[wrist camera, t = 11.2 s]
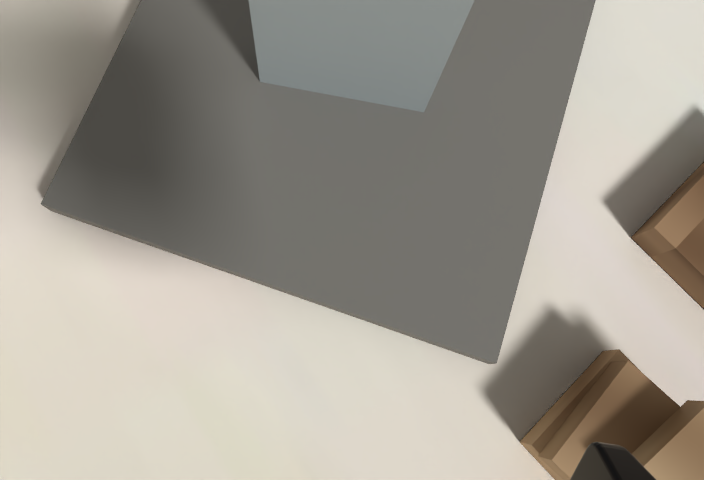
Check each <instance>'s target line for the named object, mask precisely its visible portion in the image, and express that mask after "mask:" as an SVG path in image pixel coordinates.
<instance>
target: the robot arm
mask: <svg viewBox="0 0 704 480" xmlns="http://www.w3.org/2000/svg"><path fill="white" fill-rule="evenodd" d="M570 480H656V479H655V478H654V477H653V476H652V475H651V474H650V472H649V471H648V470H647V469H646V468H645V467H644V466H643V465H642V464H641V463H640V462H639V461H638V460H637V459H636V458H635V457H634V456H633V455H632V454H631V453H630V452H629V451H628V450H627V449H626V448H624V447H622V446H620V445H614V444H608V443H602V442H593V443H591V444H590V445H589V446H588V447H587V449H586V450H585V452H584V454H583V456H582V458H581V460H580V462H579V463H578V465H577V467H576V469H575V471H574V473H573V475H572V477H571V479H570Z"/></svg>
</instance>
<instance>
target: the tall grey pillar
mask: <svg viewBox="0 0 704 480" xmlns="http://www.w3.org/2000/svg"><path fill="white" fill-rule="evenodd" d="M473 3H474V0H249V7H250V15H251V22H252V29H253V36H254V43H255V50H256V57H257V64H258V72H259V79H260V82H263V83H269V84H274V85H279V86H285V87H290V88H296V89H301V90H306V91H312V92H317V93H323V94H328V95H333V96H339V97H344V98H349V99H355V100H360V101H366V102H371V103H376V104H382V105H387V106H393V107H398V108H403V109H409V110H414V111H419V112H424V111H425V109H426V107H427V105H428V102H429V100H430V98H431V96H432V93H433V91H434V89H435V87H436V85H437V82H438V80H439V78H440V76H441V74H442V71H443V69H444V67H445V65H446V62H447V60H448V58H449V56H450V54H451V51H452V49H453V47H454V45H455V42H456V40H457V38H458V36H459V34H460V31H461V29H462V27H463V25H464V23H465V20H466V18H467V16H468V14H469V11H470V9H471V7H472V5H473Z"/></svg>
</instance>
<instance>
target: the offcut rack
mask: <svg viewBox="0 0 704 480" xmlns="http://www.w3.org/2000/svg"><path fill="white" fill-rule="evenodd" d="M631 238H632V239H633V240H634V241H635V242H636V243H637V244H638V245H639V246H640V247H641V248H642V249H643V250H644V251H645V252H646V253H647V254H648V255H649V256H650V257H651V258H652V259H653V260H654V261H655V262H656V263H658V264H659V265H660V266H661V267H662V268H663V269H664V270H665V271H666V272H667V273H668V274H669V275H670V276H671V277H672V278H673V279H674V280H675V281H676V282H677V283H678V284H679V285H680V286H681V287H682V288H683V289H684V290H685V291H686V292H687V293H688V294H689V295H690V296H691V297H692V298H693V299H694V300H695V301H696V302H697V303H698V304H699V305H700V306H701V307H702V308H703V309H704V162H703V163H702V164H701V165H700V166H699V167H698V168H697V169H696V171H695V172H694V173H693V174H692V175H691V176H690V177H689V178H688V179H687V180H686V181H685V182H684V183H683V184H682V185H681V186H680V187H679V188H678V189H677V190H676V191H675V192H674V193H673V194H672V195H671V197H670V198H669V199H668V200H667V201H666V202H665V203H664V204H663V205H662V206H661V207H660V208H659V209H658V210H657V211H656V212H655V213H654V214H653V215H652V216H651V217H650V218H649V219H648V220H647V221H646V223H645V224H644V225H643V226H642V227H641V228H640V229H639V230H638V231H637V232H636V233H635V234H634V235H633V236H632V237H631ZM593 442H602V443H608V444H614V445H620V446H622V447H624V448H626V449H627V450H628V451H629V452H630V453H631V454H632V455H633V456H634V457H635V458H636V459H637V460H638V461H639V462H640V463H641V464H642V465H643V466H644V467H645V468H646V469H647V470H648V471H649V472H650V474H651V475H652V476H653V477H654V478H655V479H656V480H704V401H689V400H687V401H686V402H685V403H684V404H683V405H682V406H681V407H680V406H679V405H678V404H676V403H675V402H674V401H673V400H672V399H671V398H670V397H669V396H667V395H666V394H665V393H664V392H663V391H662V390H661V389H660V388H659V387H657V386H656V385H655V384H654V383H653V382H652V381H651V380H650V379H648V378H647V377H646V376H645V375H644V374H643V373H642V372H641V371H640V370H639V369H638V368H637V367H636V366H635V365H634V364H633V363H632V362H631V361H630V360H629V359H628V358H627V357H626V356H625V355H624V354H623V353H622V352H621V351H620V350H609V351H603V352H602V353H601V354H600V355H599V356H598V357H597V358H596V359H595V361H594V362H593V363H592V364H591V365H590V366H589V367H588V368H587V369H586V370H585V371H584V372H583V374H582V375H581V376H580V377H579V378H578V379H577V380H576V381H575V382H574V383H573V384H572V386H571V387H570V388H569V389H568V390H567V391H566V392H565V393H564V394H563V395H562V396H561V397H560V399H559V400H558V401H557V402H556V403H555V404H554V405H553V406H552V407H551V408H550V409H549V411H548V412H547V413H546V414H545V415H544V416H543V417H542V418H541V419H540V420H539V421H538V422H537V424H536V425H535V426H534V427H533V428H532V429H531V430H530V431H529V432H528V433H527V434H526V436H525V437H524V438H523V439H522V440H521V441H520V443H521V444H522V445H523V446H524V447H525V448H526V449H527V450H528V451H529V452H530V454H531V455H532V456H533V457H534V458H535V459H536V460H537V461H538V462H539V463H540V464H541V465H542V466H543V467H544V468H545V469H546V471H547V472H548V473H549V474H550V475H551V476H552V477H553V478H554V479H555V480H570V479H571V477H572V475H573V473H574V471H575V469H576V467H577V465H578V463H579V462H580V460H581V458H582V456H583V454H584V452H585V450H586V449H587V447H588V446H589V445H590V444H591V443H593Z"/></svg>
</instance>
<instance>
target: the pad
mask: <svg viewBox="0 0 704 480" xmlns="http://www.w3.org/2000/svg"><path fill="white" fill-rule="evenodd" d="M594 4H595V0H474V3H473V5H472V7H471V9H470V11H469V14H468V16H467V18H466V20H465V23H464V25H463V27H462V29H461V31H460V34H459V36H458V38H457V40H456V42H455V45H454V47H453V49H452V51H451V54H450V56H449V58H448V60H447V62H446V65H445V67H444V69H443V71H442V74H441V76H440V78H439V80H438V82H437V85H436V87H435V89H434V91H433V93H432V96H431V98H430V100H429V102H428V105H427V107H426V109H425V111H424V112H419V111H414V110H409V109H403V108H398V107H393V106H387V105H382V104H376V103H371V102H366V101H360V100H355V99H349V98H344V97H339V96H333V95H328V94H323V93H317V92H312V91H306V90H301V89H296V88H290V87H285V86H279V85H274V84H269V83H263V82H260V79H259V72H258V64H257V57H256V50H255V43H254V36H253V29H252V22H251V15H250V7H249V0H141V2H140V4H139V6H138V8H137V10H136V12H135V14H134V16H133V18H132V20H131V22H130V24H129V26H128V28H127V30H126V32H125V34H124V36H123V38H122V40H121V42H120V44H119V46H118V48H117V50H116V52H115V54H114V56H113V58H112V60H111V63H110V65H109V67H108V69H107V71H106V73H105V75H104V77H103V79H102V81H101V83H100V85H99V87H98V89H97V91H96V93H95V95H94V97H93V99H92V101H91V103H90V105H89V107H88V109H87V111H86V113H85V115H84V117H83V119H82V121H81V123H80V125H79V127H78V129H77V131H76V134H75V136H74V138H73V140H72V142H71V144H70V146H69V148H68V150H67V152H66V154H65V156H64V158H63V160H62V162H61V164H60V166H59V168H58V170H57V172H56V174H55V176H54V178H53V180H52V182H51V184H50V186H49V188H48V190H47V192H46V194H45V196H44V198H43V200H42V203H41V204H42V205H43V206H45V207H46V208H47V209H49V210H50V211H53V212H56V213H59V214H62V215H65V216H67V217H70V218H73V219H76V220H79V221H82V222H85V223H87V224H90V225H93V226H96V227H99V228H102V229H105V230H107V231H110V232H113V233H116V234H119V235H122V236H125V237H128V238H130V239H133V240H136V241H139V242H142V243H145V244H148V245H150V246H153V247H156V248H159V249H162V250H165V251H168V252H170V253H173V254H176V255H179V256H182V257H185V258H188V259H190V260H193V261H196V262H199V263H202V264H205V265H208V266H210V267H213V268H216V269H219V270H222V271H225V272H228V273H230V274H233V275H236V276H239V277H242V278H245V279H248V280H250V281H253V282H256V283H259V284H262V285H265V286H268V287H270V288H273V289H276V290H279V291H282V292H285V293H288V294H290V295H293V296H296V297H299V298H302V299H305V300H308V301H310V302H313V303H316V304H319V305H322V306H325V307H328V308H330V309H333V310H336V311H339V312H342V313H345V314H348V315H350V316H353V317H356V318H359V319H362V320H365V321H368V322H370V323H373V324H376V325H379V326H382V327H385V328H388V329H390V330H393V331H396V332H399V333H402V334H405V335H408V336H410V337H413V338H416V339H419V340H422V341H425V342H428V343H431V344H433V345H436V346H439V347H442V348H445V349H448V350H451V351H453V352H456V353H459V354H462V355H465V356H468V357H471V358H473V359H476V360H479V361H482V362H485V363H488V364H495V363H497V360H498V356H499V352H500V349H501V345H502V341H503V338H504V334H505V330H506V327H507V323H508V319H509V316H510V312H511V308H512V305H513V301H514V297H515V294H516V290H517V286H518V283H519V279H520V275H521V272H522V268H523V264H524V261H525V257H526V253H527V250H528V246H529V242H530V239H531V235H532V231H533V228H534V224H535V220H536V217H537V213H538V209H539V206H540V202H541V198H542V195H543V191H544V187H545V184H546V180H547V176H548V173H549V169H550V165H551V162H552V158H553V154H554V151H555V147H556V143H557V140H558V136H559V132H560V128H561V125H562V121H563V117H564V114H565V110H566V106H567V103H568V99H569V95H570V92H571V88H572V84H573V81H574V77H575V73H576V70H577V66H578V62H579V59H580V55H581V51H582V48H583V44H584V40H585V37H586V33H587V29H588V26H589V22H590V18H591V15H592V11H593V7H594Z"/></svg>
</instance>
